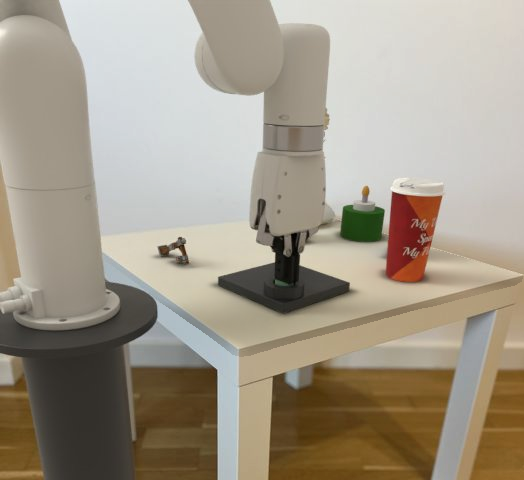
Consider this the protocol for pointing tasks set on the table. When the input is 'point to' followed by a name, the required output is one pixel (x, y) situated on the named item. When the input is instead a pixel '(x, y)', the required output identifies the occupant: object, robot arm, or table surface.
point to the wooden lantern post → (179, 244)
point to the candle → (362, 220)
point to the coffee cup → (412, 226)
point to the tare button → (282, 283)
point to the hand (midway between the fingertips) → (286, 280)
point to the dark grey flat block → (283, 287)
